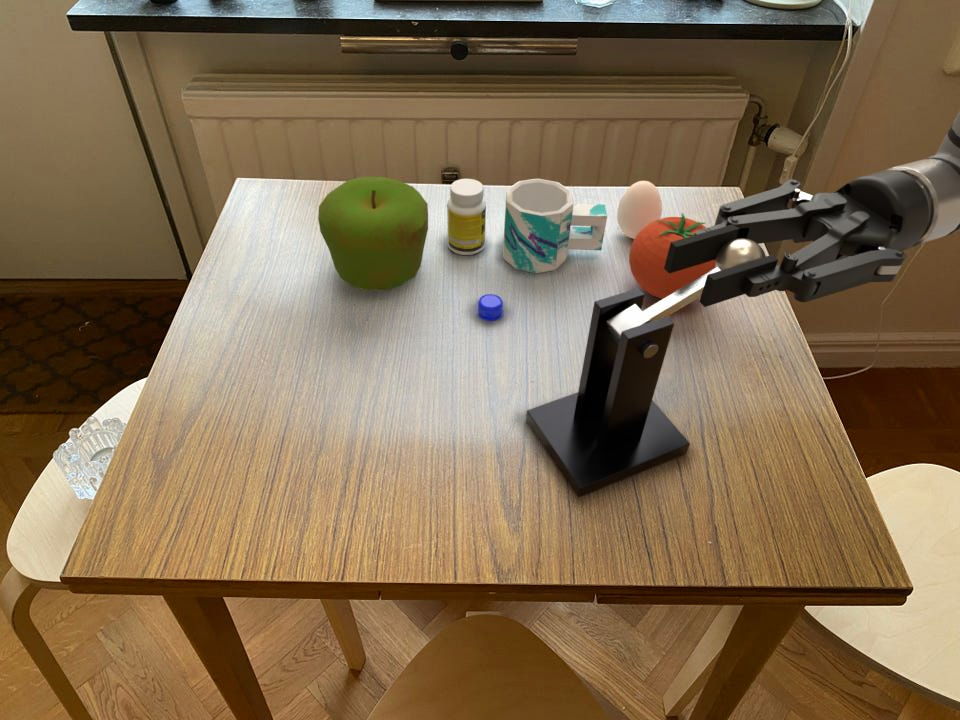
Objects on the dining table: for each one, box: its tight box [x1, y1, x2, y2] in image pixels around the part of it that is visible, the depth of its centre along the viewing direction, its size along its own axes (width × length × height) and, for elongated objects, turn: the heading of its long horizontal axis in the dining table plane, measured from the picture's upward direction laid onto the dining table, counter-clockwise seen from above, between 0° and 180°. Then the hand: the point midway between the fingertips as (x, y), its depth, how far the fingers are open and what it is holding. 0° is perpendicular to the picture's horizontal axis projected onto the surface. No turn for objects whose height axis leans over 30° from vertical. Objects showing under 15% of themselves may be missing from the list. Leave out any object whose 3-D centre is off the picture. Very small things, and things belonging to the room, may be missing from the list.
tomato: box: [628, 212, 716, 300], centre depth 81 cm, size 10×10×10 cm
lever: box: [607, 238, 767, 346], centre depth 59 cm, size 14×4×4 cm, turn 116°
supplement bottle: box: [446, 178, 487, 256], centre depth 87 cm, size 5×5×8 cm
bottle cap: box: [476, 293, 504, 322], centre depth 80 cm, size 3×3×2 cm
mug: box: [502, 178, 608, 274], centre depth 86 cm, size 8×12×8 cm
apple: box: [317, 176, 429, 291], centre depth 82 cm, size 12×12×11 cm
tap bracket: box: [525, 287, 691, 498], centre depth 63 cm, size 12×10×16 cm
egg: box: [616, 180, 663, 240], centre depth 90 cm, size 6×6×8 cm
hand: (688, 274), depth 57 cm, fingers closed on lever, 4 cm apart
